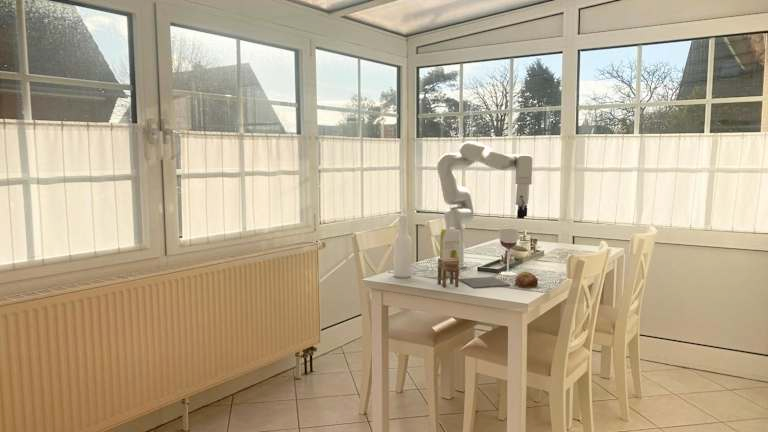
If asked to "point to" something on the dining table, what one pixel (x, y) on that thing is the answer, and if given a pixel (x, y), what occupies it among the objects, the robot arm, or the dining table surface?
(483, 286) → the mat
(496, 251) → the dining table surface
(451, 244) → the juice carton
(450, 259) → the stool
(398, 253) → the alcohol
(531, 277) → the bread roll
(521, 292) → the dining table surface
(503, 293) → the dining table surface
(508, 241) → the wineglass
